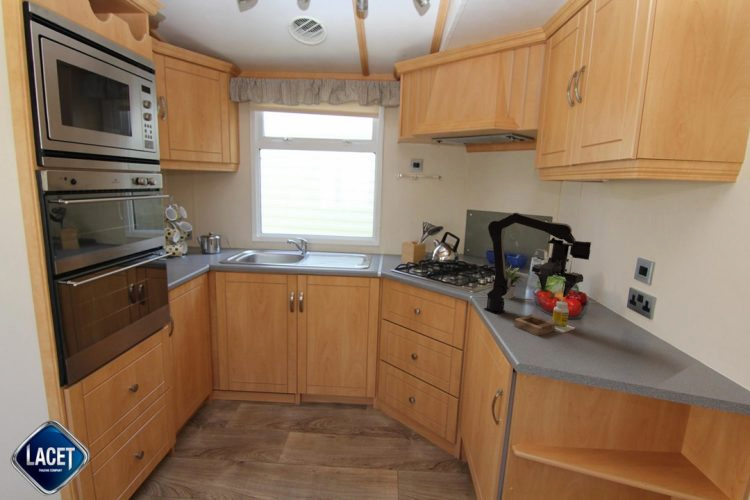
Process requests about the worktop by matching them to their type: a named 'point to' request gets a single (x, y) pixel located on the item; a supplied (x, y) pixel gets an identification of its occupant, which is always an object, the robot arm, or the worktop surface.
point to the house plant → (512, 288)
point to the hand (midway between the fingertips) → (553, 293)
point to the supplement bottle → (560, 314)
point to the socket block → (534, 325)
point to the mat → (564, 329)
